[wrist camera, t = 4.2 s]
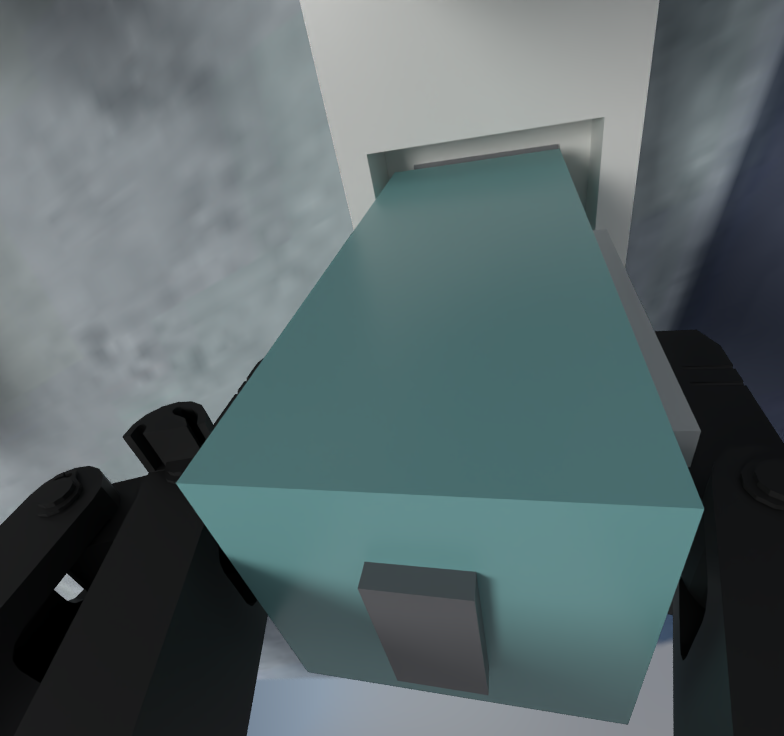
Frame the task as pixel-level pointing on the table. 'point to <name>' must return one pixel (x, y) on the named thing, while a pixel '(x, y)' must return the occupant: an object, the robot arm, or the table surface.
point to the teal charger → (460, 455)
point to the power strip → (487, 90)
